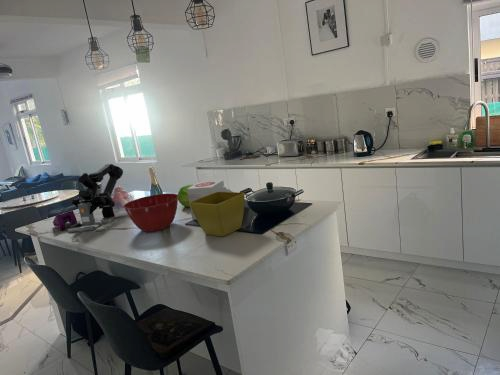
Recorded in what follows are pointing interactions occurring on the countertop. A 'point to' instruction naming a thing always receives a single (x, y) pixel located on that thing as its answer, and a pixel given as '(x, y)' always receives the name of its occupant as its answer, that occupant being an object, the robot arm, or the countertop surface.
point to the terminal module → (86, 214)
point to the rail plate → (83, 227)
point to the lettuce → (184, 196)
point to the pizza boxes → (204, 191)
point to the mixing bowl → (153, 211)
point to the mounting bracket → (64, 220)
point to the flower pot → (219, 212)
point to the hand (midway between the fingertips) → (85, 214)
